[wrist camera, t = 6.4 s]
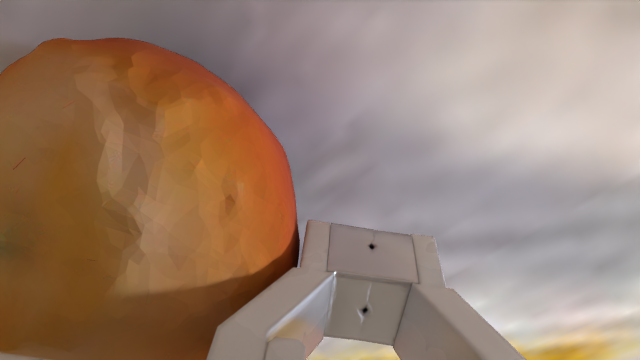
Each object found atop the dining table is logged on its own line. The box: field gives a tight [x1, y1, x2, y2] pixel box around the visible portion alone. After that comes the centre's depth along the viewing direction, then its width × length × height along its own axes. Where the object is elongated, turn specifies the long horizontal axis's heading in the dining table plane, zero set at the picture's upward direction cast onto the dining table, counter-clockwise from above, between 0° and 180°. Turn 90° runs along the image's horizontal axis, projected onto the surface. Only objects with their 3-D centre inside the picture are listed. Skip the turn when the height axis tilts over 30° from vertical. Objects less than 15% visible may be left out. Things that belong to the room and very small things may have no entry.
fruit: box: [0, 38, 300, 360], centre depth 11 cm, size 8×8×8 cm
